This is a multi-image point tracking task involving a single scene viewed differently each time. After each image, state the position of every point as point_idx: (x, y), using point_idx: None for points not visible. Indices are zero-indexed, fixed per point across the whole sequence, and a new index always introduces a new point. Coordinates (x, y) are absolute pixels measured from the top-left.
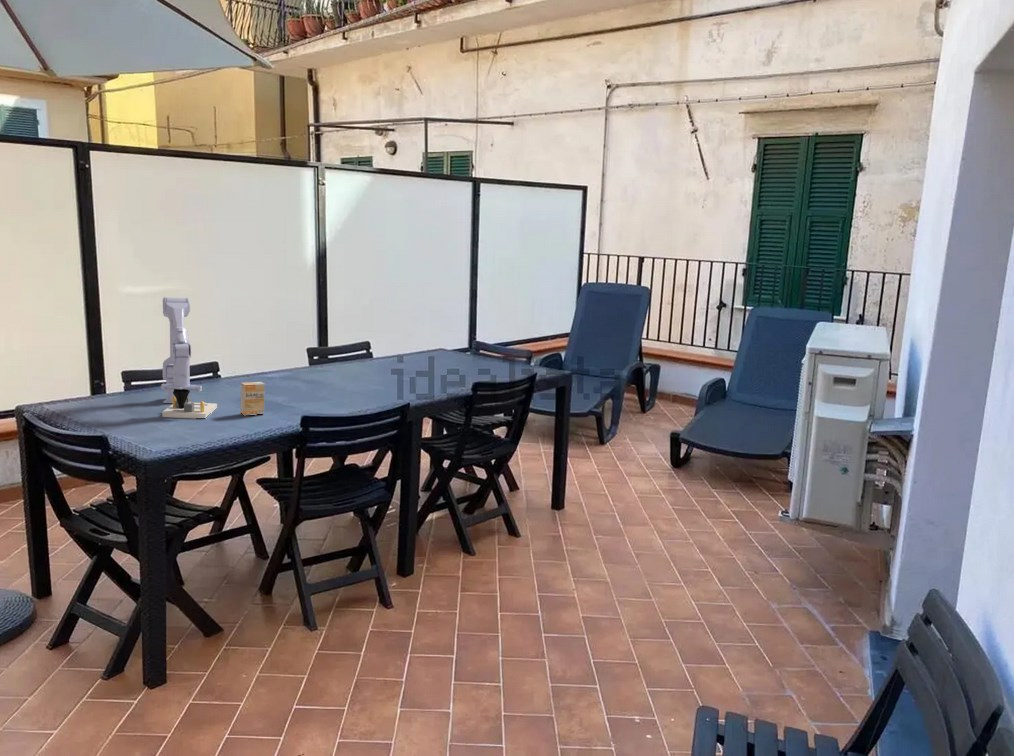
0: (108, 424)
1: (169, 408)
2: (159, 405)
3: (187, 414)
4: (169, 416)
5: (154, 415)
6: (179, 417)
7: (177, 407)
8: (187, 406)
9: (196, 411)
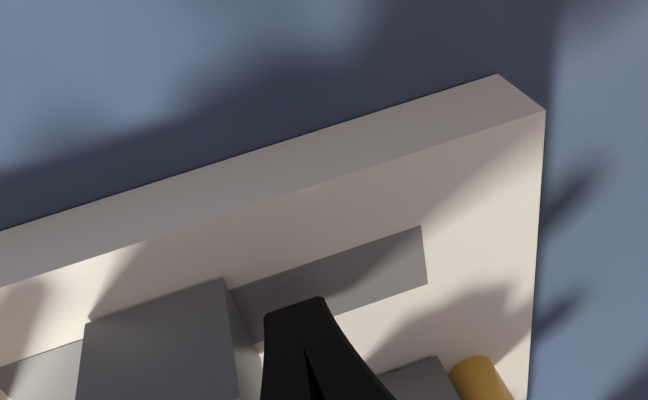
0: None
1: (502, 297)
2: (631, 379)
3: (112, 233)
4: (397, 112)
5: (615, 92)
6: (243, 156)
7: (422, 364)
8: (164, 382)
9: (60, 379)
